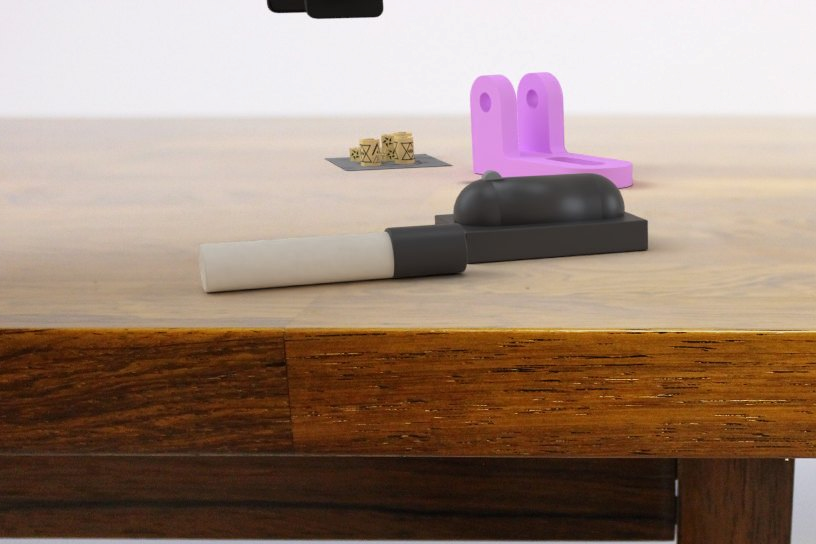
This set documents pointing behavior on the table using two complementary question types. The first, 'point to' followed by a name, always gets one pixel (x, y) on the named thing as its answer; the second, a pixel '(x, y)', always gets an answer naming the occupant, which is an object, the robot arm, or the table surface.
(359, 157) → the dice set
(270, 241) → the pen
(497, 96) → the bracket
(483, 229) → the mouse
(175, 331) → the table surface
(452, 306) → the table surface
